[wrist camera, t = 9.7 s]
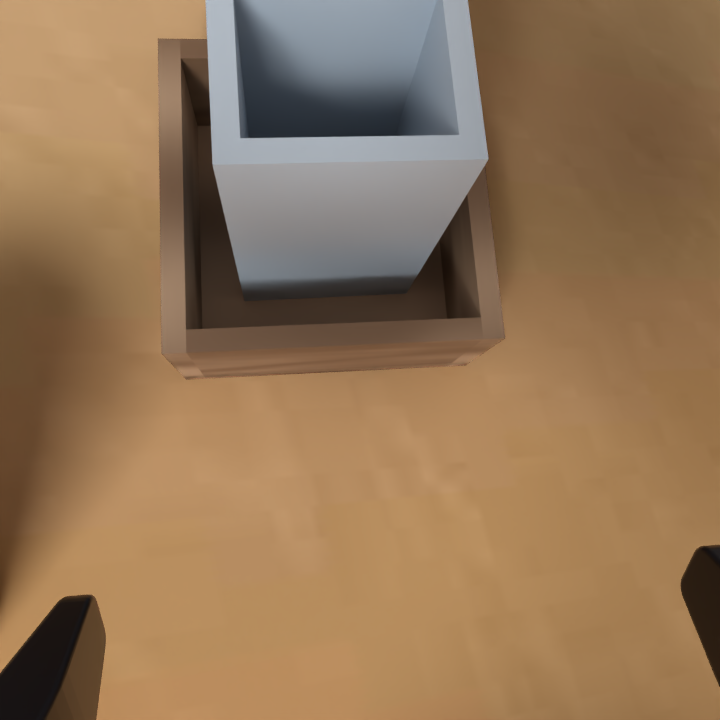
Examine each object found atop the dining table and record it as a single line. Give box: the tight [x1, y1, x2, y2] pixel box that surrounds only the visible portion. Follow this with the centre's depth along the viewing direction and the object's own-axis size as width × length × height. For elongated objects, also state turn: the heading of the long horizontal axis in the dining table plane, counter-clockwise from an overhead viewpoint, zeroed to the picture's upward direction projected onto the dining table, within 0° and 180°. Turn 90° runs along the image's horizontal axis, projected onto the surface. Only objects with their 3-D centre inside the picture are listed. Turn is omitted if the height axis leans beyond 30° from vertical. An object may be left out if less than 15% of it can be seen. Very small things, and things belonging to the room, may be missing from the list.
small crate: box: [206, 0, 488, 301], centre depth 19 cm, size 5×6×10 cm
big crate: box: [158, 39, 505, 379], centre depth 22 cm, size 10×10×4 cm
